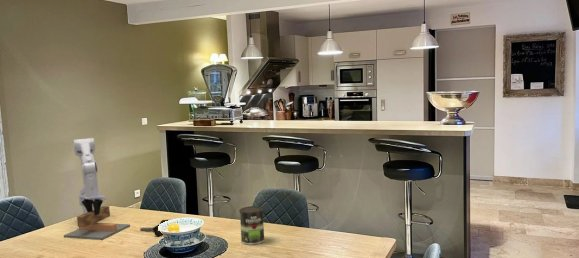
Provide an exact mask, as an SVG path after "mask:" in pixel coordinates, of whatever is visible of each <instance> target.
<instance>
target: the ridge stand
mask: <svg viewBox="0 0 579 258" xmlns="http://www.w3.org/2000/svg"><path fill="white" fill-rule="evenodd" d="M129 227H131V224H127V223H114V222H113V223H111V222H95V223H93V224H90V225H88V226H86V227H78V229H74V230H72V231H71V232H68V233H65V234H64V235H63V238H68V239H69V238H70V239H86V240H99V241H103V240H105V239H107V238H109V237H111V236H114V235H115V234H117V233H119V232H122V231H123V230H124V231H125V230H126V229H127V228H129Z"/></svg>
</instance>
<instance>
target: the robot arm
mask: <svg viewBox="0 0 579 258" xmlns="http://www.w3.org/2000/svg"><path fill="white" fill-rule="evenodd" d="M95 142H96V141H95V138H93V137H89V138H78V139H73V151H74V155H75V156H76V157H79V159H80V163H81V164H80V165H81V173H82V174H81V175H82V182H83V187H82V188H81V189H79V190H78V201H79V206H80V207H82V214H85V213H87V212H90V211H92V210H94V211H95V215H98V214H99V212H100V207H103V206H102V204H103V202H104V201H105V200H107V196H106V195H103V194H100V191H99V184H98V177H97V176H98V175H97V174H98V163H97V161H96V160H95V156H94V154H95V148H96V146H95Z"/></svg>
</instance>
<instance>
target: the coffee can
mask: <svg viewBox="0 0 579 258" xmlns="http://www.w3.org/2000/svg"><path fill="white" fill-rule="evenodd" d="M239 219H240V220H239V222H240V237H241V239H240V243H241V244H242V245H243V244H244V245H247V246H249V245H250V246H251V245H259V244H262V243H264V242H265V229H264V228H265V227H264V226H265V224H264V223H265V222H264V208H263V207H261V206H258V205H256V206H253V205H252V206H244V207H241V208H240V209H239Z"/></svg>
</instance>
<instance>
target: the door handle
mask: <svg viewBox="0 0 579 258" xmlns="http://www.w3.org/2000/svg"><path fill="white" fill-rule="evenodd" d="M168 220H169V219H162V220H160V223H159V224H161V223H163V222H165V221H168ZM159 224H157V225H156V226H154V227H140V229H139V230H140V232H146V233H147V232H148V233H154V236H155V237H161V236H163V234H162V233H161V232H160V231H158V226H159Z"/></svg>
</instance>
